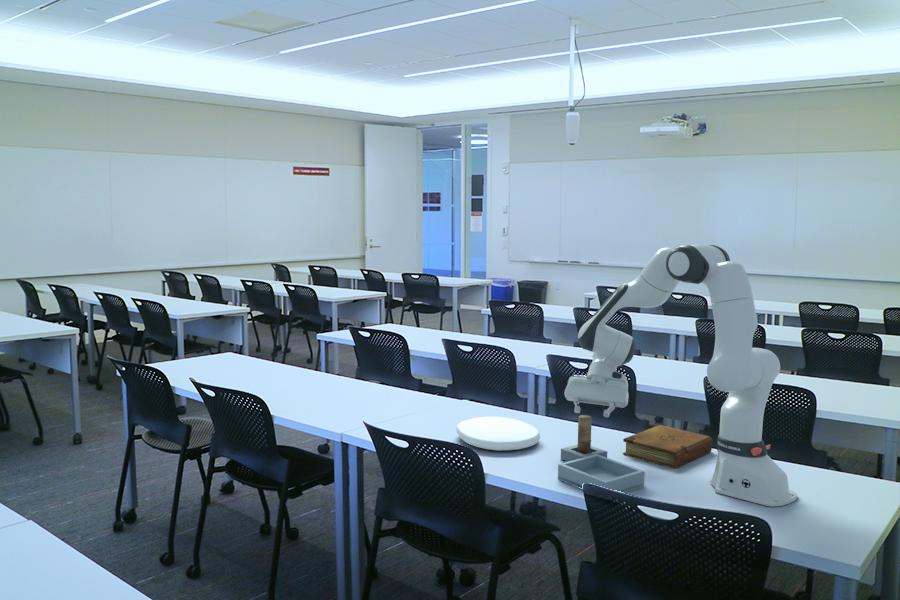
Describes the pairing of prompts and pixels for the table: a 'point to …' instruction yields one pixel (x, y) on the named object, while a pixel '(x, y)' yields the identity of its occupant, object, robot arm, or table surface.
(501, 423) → the plate
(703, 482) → the table surface
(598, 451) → the socket block
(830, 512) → the table surface
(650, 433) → the diary
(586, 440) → the dowel
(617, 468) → the tray
